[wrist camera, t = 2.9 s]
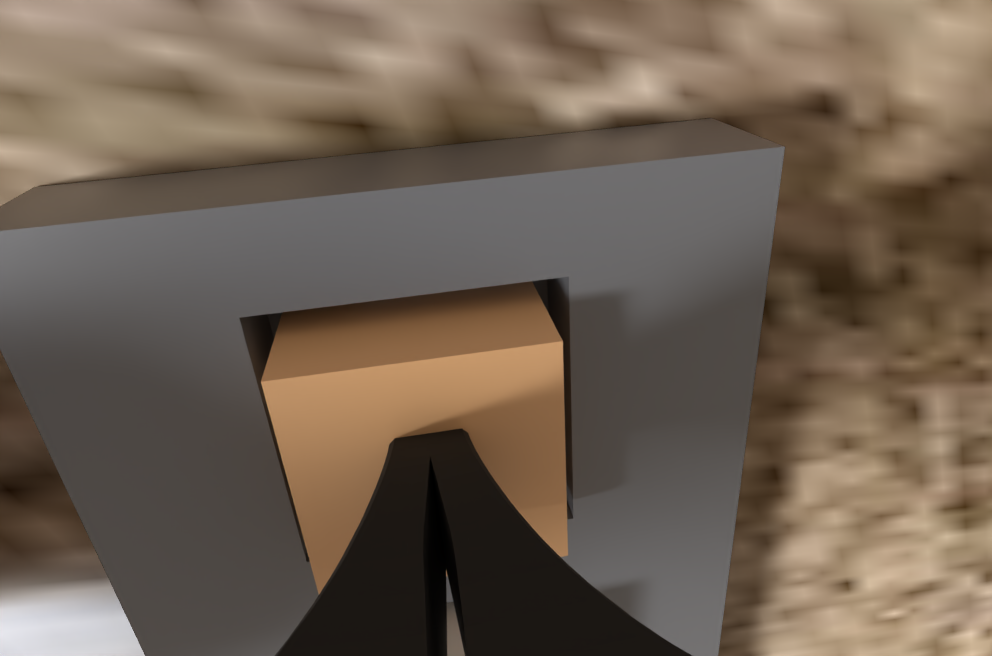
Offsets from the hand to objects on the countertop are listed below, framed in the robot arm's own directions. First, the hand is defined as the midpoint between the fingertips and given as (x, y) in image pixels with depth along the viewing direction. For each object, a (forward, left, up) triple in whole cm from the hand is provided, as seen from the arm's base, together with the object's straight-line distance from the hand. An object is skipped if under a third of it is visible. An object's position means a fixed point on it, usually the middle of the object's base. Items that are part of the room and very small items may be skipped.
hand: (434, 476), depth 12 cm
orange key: (0, 0, -4) cm, 4 cm away
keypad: (0, -8, -4) cm, 9 cm away
